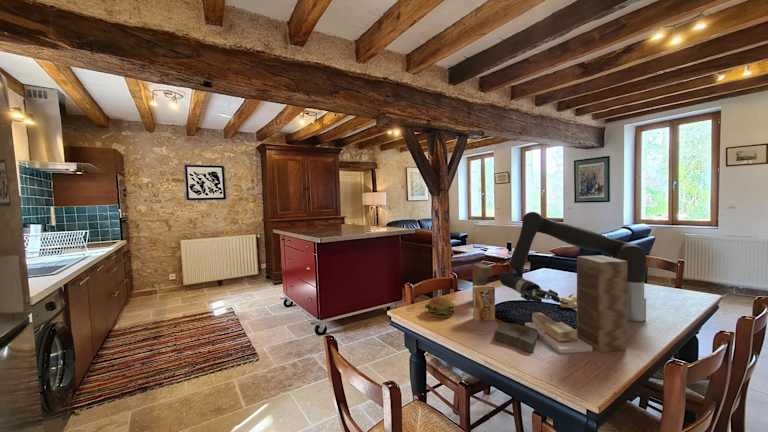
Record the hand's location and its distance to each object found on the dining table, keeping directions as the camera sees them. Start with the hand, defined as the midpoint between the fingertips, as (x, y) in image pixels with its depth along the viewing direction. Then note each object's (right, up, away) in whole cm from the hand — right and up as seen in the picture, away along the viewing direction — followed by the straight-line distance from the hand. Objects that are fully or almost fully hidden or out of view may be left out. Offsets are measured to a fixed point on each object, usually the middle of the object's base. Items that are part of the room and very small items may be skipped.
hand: (549, 300), depth 127 cm
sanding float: (0, -12, 0) cm, 12 cm away
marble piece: (-15, -15, -4) cm, 22 cm away
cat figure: (+32, -11, +33) cm, 47 cm away
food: (-40, -14, +26) cm, 49 cm away
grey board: (+1, -14, -3) cm, 14 cm away
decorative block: (-15, -12, +40) cm, 44 cm away
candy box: (-21, -13, +17) cm, 30 cm away
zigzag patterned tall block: (+14, -14, -9) cm, 22 cm away
